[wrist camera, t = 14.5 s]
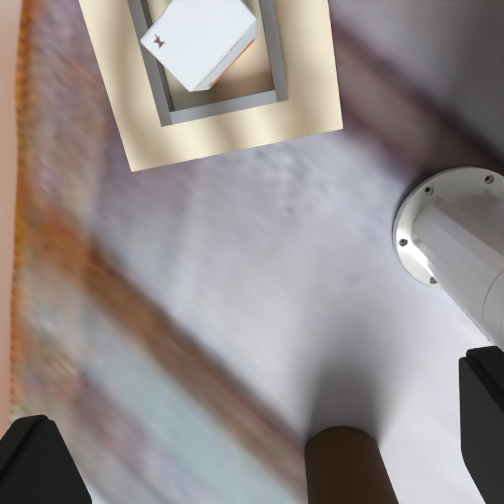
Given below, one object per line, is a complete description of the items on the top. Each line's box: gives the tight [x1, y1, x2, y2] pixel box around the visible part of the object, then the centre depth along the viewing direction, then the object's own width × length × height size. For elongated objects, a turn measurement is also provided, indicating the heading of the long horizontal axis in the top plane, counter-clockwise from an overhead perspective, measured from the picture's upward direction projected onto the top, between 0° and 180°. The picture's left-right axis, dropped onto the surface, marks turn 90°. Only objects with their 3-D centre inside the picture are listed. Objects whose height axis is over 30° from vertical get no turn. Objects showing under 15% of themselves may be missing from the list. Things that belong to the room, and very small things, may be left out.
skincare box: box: [140, 0, 257, 92], centre depth 30 cm, size 6×4×12 cm
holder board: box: [79, 0, 343, 172], centre depth 35 cm, size 20×18×4 cm
